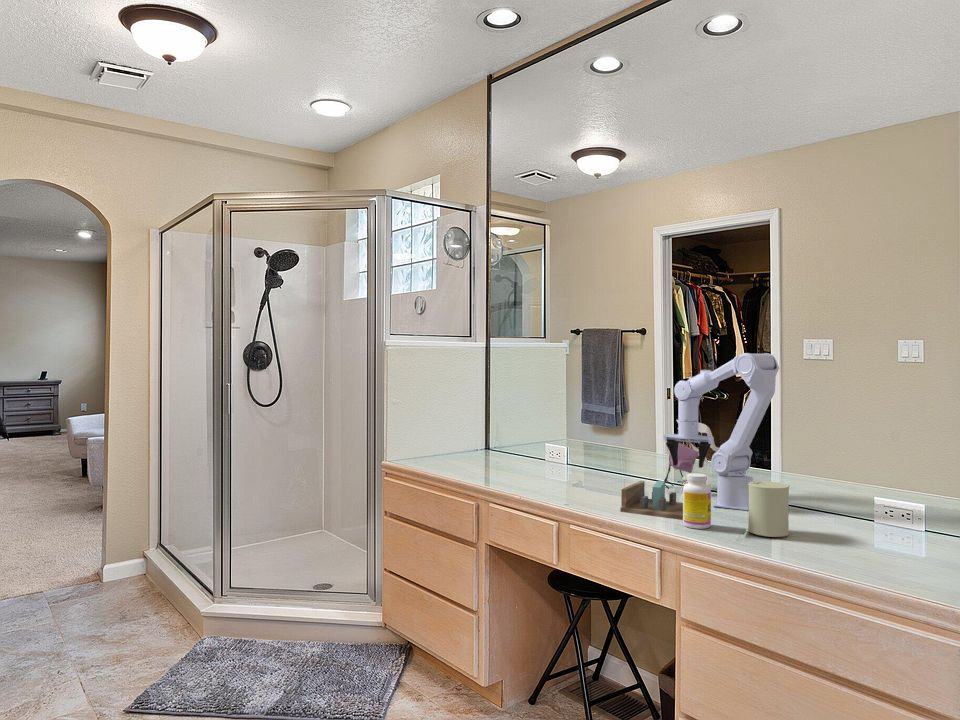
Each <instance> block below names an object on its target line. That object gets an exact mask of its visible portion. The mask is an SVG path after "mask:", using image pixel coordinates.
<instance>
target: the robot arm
mask: <svg viewBox="0 0 960 720" xmlns="http://www.w3.org/2000/svg"><path fill="white" fill-rule="evenodd" d="M779 370H780V366H779V365H778V362H777V359H776V357H775V356H774V355H773V354H772V353H768V352H764V353H750V352H745V353H741V354H740V355H737V356H734V358H732V359H731V360H729V361H728V362H726V363H725V364H723V365H720V366H719V367H718V368H716V369H714V370H710V369H701V370H700V371H699V373H698V374H696V375H695V376H689V377H688V379H687V380H679V381H677V382H676V384H675V386H674V390H673V391H674V396H675V397H676V398H677V400H678V416H677V417H678V418H677V420H679V421H678V422H677V424H678V427H677V430H678V431H677V433H664V434H663V442H665V441H666V442H665V444H666V447H667V448H668V449H667V450H668V451H669V454H671V457H672V460H673V465H678V444H679V443H680V442H681V443H682V442H683V443H698V445H697V449H699V455H698V468H700V469H702V468H703V467H704V463H705V461H704V460H705V457H706V456H707V453H708V452H709V449H710V448H711V447H710V446H711V444H713V443H715V438H714V436H713V437H709V436H707V435H702V436H701V434H700V435H699V432H698V423H699V406H700V401H701V398H702V397H703V395H704V394H706V393H708V392H711V391H713V390H715V389H717V387H718V386H719V383H720V382H721V381H724V380H726V379H728V378H731V377H734V376H735V375H737V374H738V375H739V376H740V377H741V378H742V380H744V382H745V384H746V385H747V386H748V388H749V389H750V393H749V395H748V396H747V399H746V401H745V404H744V406H743V408H742V411H741V413H740V415H739V417H738V419H737V421H736V424H735V425H734V427H733V430H732V432H731V435H730V437H729V438H728V440H727V441H725V442H724V443H722V444H721V445H720V446H719V450H718V451H717V452H716V451H715V452H714V453H713V454H712V457H711V462H710V463H711V464H712V466H711V467H712V469H713V471H715V475H717V478H716V479H717V483H716V484H717V485H716V486H717V487H716V488H717V491H716V493H717V496H716V497H717V498H716V499H717V501H715V503H714V504H712V506H713V507H716V508H724V509H731V510H732V509H733V510H741V511H749V485H748V483H749V482H753V481H754V478H753V476H748V475H746V474H747V471H748V470H749V468H750V467H751V461H752V460H751V459H752V455H753V451H752V449H751V447H750V446H751V444H752V442H753V439H754V437H755V435H756V433H757V431H758V428H759V427H760V425H761V423H762V421H763V419H764V416H765V415H766V411H767V409H768V407H769V406H770V404H771V401H772V399H773V397H774V395H775V393H776V381H777V377H776V376H777V374H778V372H779ZM681 439H683V440H681ZM706 458H707V457H706Z"/></svg>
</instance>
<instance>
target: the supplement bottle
mask: <svg viewBox="0 0 960 720" xmlns="http://www.w3.org/2000/svg"><path fill="white" fill-rule="evenodd" d="M686 476H687V477H686V480H687V479H688V484H686V483H685V484H683V486H684V487H683V486H682V503H683V520H682V524H683V526H685V527H687V528H688V529H689V528H690V529H694V530H695V529H697V530H706V529H709V528H711V525H712V523H711V521H712V518H711V517H712V499H711V498H712V489H711V487H710V486H709V485H707V480H708V475H707V474H704V473H696V472H695V473H692V472H691V473H690V474H689V473H687V475H686Z"/></svg>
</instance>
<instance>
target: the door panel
mask: <svg viewBox="0 0 960 720" xmlns="http://www.w3.org/2000/svg"><path fill="white" fill-rule="evenodd" d="M665 485H666V483H665V481H664V480H656V482H655V483H654V485H653V486H652V492H653V509H656V510H659V499H661V498H666V488H665V487H666V486H665Z"/></svg>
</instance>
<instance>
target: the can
mask: <svg viewBox="0 0 960 720" xmlns="http://www.w3.org/2000/svg"><path fill="white" fill-rule="evenodd" d="M748 485H749V510H748V524H747V525H748V528H747V531H748V532H749V533H751V534H754V535H756V536H762V537H771V538H780V537H781V538H783V537H787V536H789V535H790V529H789V528H790V527H789V507H790V506H789V502H790V501H789V498H790V497H789V496H790V495H789V493H790V485H789V484H787V483H783V482H779V481H767V480H755V481H754V480H753V482H749V483H748Z"/></svg>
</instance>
